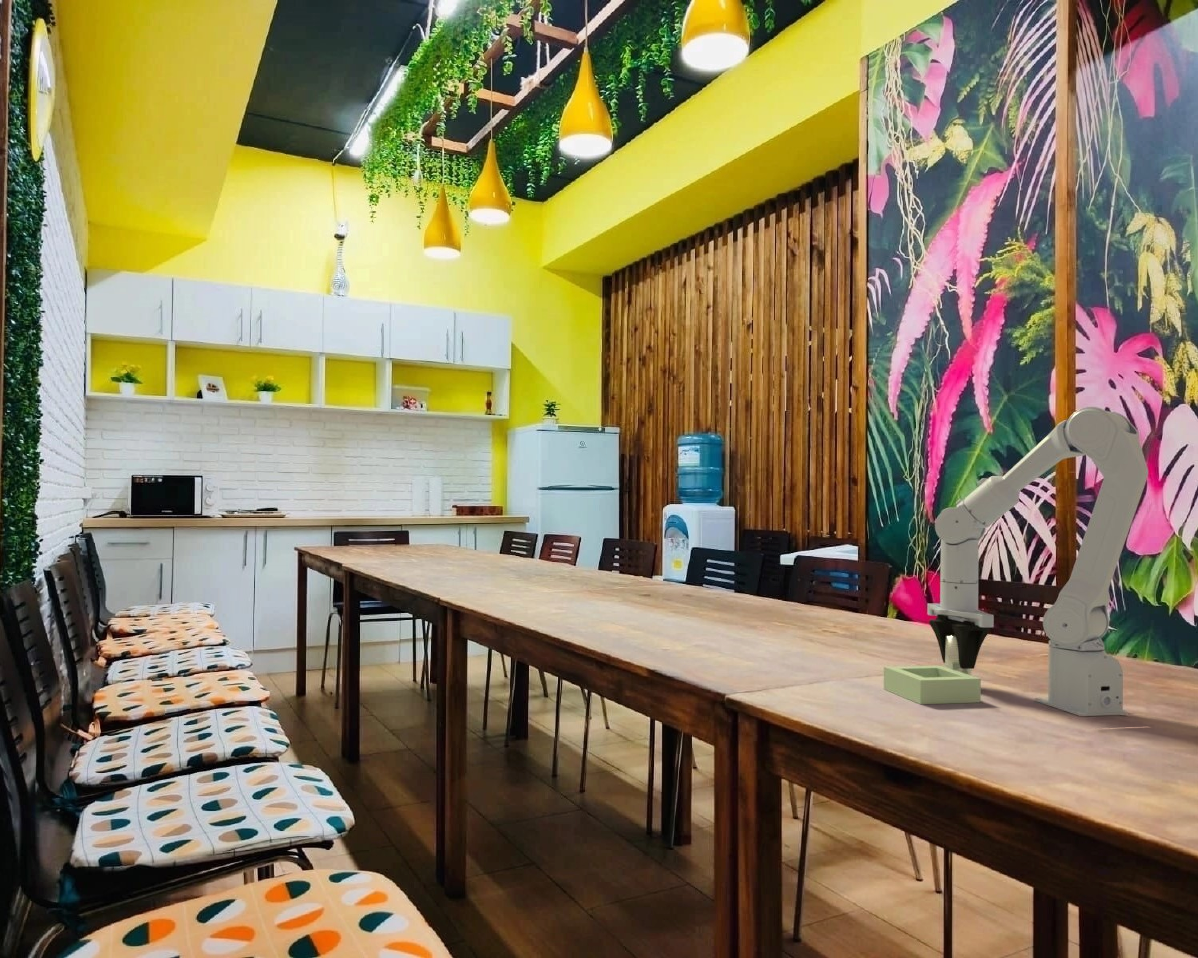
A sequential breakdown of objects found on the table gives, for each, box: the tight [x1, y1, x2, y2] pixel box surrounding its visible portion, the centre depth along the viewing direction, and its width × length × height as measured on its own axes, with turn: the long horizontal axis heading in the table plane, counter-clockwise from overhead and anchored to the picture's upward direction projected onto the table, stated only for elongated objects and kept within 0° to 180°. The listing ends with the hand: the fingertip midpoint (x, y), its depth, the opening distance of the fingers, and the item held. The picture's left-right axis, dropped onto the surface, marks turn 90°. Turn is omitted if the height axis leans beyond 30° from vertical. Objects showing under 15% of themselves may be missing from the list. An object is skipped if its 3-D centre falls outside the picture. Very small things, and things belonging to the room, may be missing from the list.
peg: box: [944, 634, 973, 676], centre depth 138 cm, size 4×4×8 cm
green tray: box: [883, 665, 982, 705], centre depth 130 cm, size 10×10×4 cm
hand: (958, 665), depth 138 cm, fingers closed on peg, 4 cm apart
